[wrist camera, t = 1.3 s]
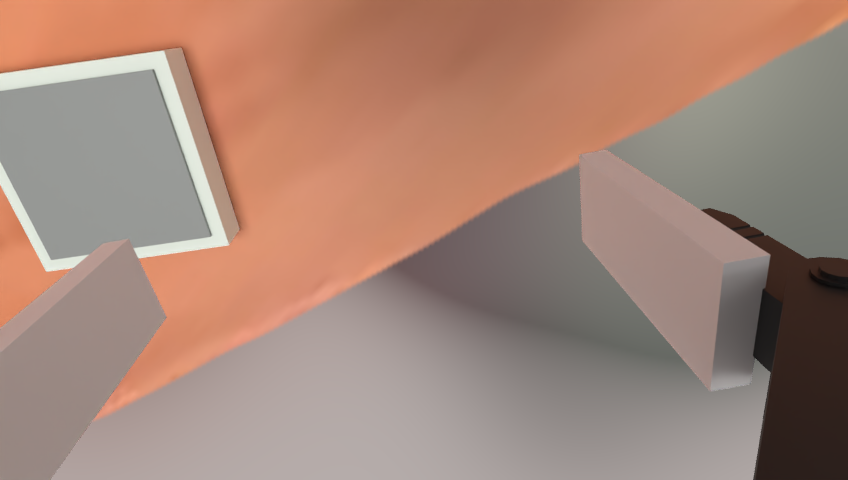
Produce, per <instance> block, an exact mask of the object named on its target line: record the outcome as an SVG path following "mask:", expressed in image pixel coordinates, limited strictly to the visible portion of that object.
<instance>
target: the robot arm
mask: <svg viewBox="0 0 848 480" xmlns="http://www.w3.org/2000/svg"><path fill="white" fill-rule="evenodd" d="M579 163H580V189H581V190H580V191H581V219H582V241H583V242H584V243H585V244H586V245H587V247H588V248H589V249H590V250H591V251H592V253H593V254H594V255H595V256H596V257H597V258H598V259H599V261H600V262H601V263H602V264H603V265H604V267H605V268H606V269H607V270H608V271H609V273H610V274H611V275H612V276H613V277H614V279H615V280H616V281H617V282H618V283H619V284H620V285H621V287H622V288H623V289H624V290H625V292H626V293H627V294H628V295H629V296H630V297H631V299H632V300H633V301H634V302H635V303H636V304H637V306H638V307H639V308H640V309H641V310H642V312H643V313H644V314H645V315H646V316H647V317H648V319H649V320H650V321H651V322H652V323H653V325H654V326H655V327H656V328H657V329H658V330H659V332H660V333H661V334H662V335H663V336H664V338H665V339H666V340H667V341H668V342H669V343H670V345H671V346H672V347H673V348H674V349H675V350H676V352H677V353H678V354H679V355H680V356H681V358H682V359H683V360H684V361H685V362H686V364H687V365H688V366H689V367H690V368H691V369H692V371H693V372H694V373H695V374H696V375H697V377H698V378H699V379H700V380H701V381H702V382H703V384H704V385H705V386H706V387H707V388H708V390H709V391H715V390H721V389H726V388H732V387H737V386H743V385H748V384H751V379H752V372H753V366H754V360H755V358H756V359H757V360H758V361H759V362H760V363H761V364H762V365H763V366H764V367H765V368H766V369H767V370H768V371H770V372H771V375H770V381H769V386H768V392H767V398H766V404H765V410H764V416H763V423H762V429H761V436H760V442H759V448H758V454H757V460H756V467H755V473H754V479H753V480H848V260H846V259H841V258H827V257H826V258H825V257H818V258H809V259H807V258H805V257H803V256H801V255H800V254H798V253H796V252H795V251H793V250H791V249H790V248H788V247H786V246H785V245H783V244H781V243H780V242H778V241H776V240H774V239H773V238H771V237H769V236H768V235H767V236H764V233H762V232H761V231H759V230H758V229H756V228H754V227H750V225H749V224H747V223H746V222H744V221H742V220H741V219H739V218H737V217H736V216H734V215H731V214H728V213H725V212H721V211H718V210H714V209H711V208H708V209H703V210H699V209H698V208H696V207H695V206H693V205H692V204H690V203H689V202H687V201H686V200H684V199H682V198H681V197H679V196H678V195H676V194H674V193H673V192H671V191H670V190H668V189H667V188H665V187H664V186H662V185H660V184H659V183H657V182H656V181H654V180H653V179H651V178H649V177H648V176H646V175H645V174H643V173H642V172H640V171H638V170H637V169H635V168H634V167H632V166H631V165H629V164H627V163H626V162H624V161H623V160H621V159H620V158H618V157H617V156H615V155H613V154H612V153H610V152H609V151H607V150H601V151H596V152H590V153H585V154H579ZM165 319H166V315H165V313H164V311H163V309H162V307H161V305H160V302H159V300H158V298H157V296H156V294H155V292H154V290H153V288H152V286H151V284H150V282H149V280H148V277H147V275H146V273H145V271H144V269H143V267H142V265H141V263H140V261H139V259H138V257H137V255H136V253H135V250H134V248H133V246H132V244H131V242H130V240H129V239H124V240H119V241H114V242H108V243H103V244H102V245H100V246H99V247H98V248H97V249H96V250H94V251H93V252H92V253H91V254H90V255H88V256H87V257H86V258H85V259H83V260H82V261H81V262H80V263H79V264H77V265H76V266H75V267H74V268H73V269H71V270H70V271H69V272H68V273H66V274H65V275H64V276H63V277H62V278H60V279H59V280H58V281H57V282H56V283H54V284H53V285H52V286H51V287H49V288H48V289H47V290H46V291H45V292H43V293H42V294H41V295H40V296H39V297H37V298H36V299H35V300H34V301H32V302H31V303H30V304H29V305H28V306H26V307H25V308H24V309H23V310H22V311H20V312H19V313H18V314H17V315H15V316H14V317H13V318H12V319H11V320H9V321H8V322H7V323H6V324H5V325H3V326H2V327H1V328H0V480H51V478H52V477H53V475H54V474H55V472H56V471H57V470H58V468H59V467H60V466H61V464H62V463H63V461H64V460H65V459H66V457H67V456H68V454H69V453H70V451H71V450H72V449H73V447H74V446H75V444H76V443H77V442H78V440H79V439H80V438H81V436H82V435H83V433H84V432H85V431H86V429H87V428H88V426H89V425H90V424H91V422H92V421H93V419H94V418H95V417H96V415H97V414H98V412H99V411H100V410H101V408H102V407H103V406H104V404H105V403H106V401H107V400H108V399H109V397H110V396H111V394H112V393H113V392H114V390H115V389H116V387H117V386H118V385H119V383H120V382H121V380H122V379H123V378H124V376H125V375H126V373H127V372H128V371H129V369H130V368H131V366H132V365H133V364H134V362H135V361H136V359H137V358H138V357H139V355H140V354H141V352H142V351H143V350H144V348H145V347H146V345H147V344H148V343H149V341H150V340H151V338H152V337H153V336H154V334H155V333H156V331H157V330H158V329H159V327H160V326H161V324H162V323H163V322H164V320H165Z"/></svg>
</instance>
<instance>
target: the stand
mask: <svg viewBox="0 0 848 480" xmlns="http://www.w3.org/2000/svg"><path fill="white" fill-rule="evenodd" d="M0 185H1V187H2V189H3V191H4V193H5V194H6V196H7V198H8V200H9V202H10V204H11V206H12V208H13V210H14V211H15V213H16V215H17V217H18V219H19V221H20V223H21V225H22V227H23V228H24V230H25V232H26V234H27V236H28V238H29V240H30V242H31V244H32V245H33V247H34V249H35V251H36V253H37V255H38V257H39V259H40V261H41V262H42V264H43V266H44V268H45V270H46V272H48V271H55V270H62V269H69V268H74V267H75V266H76V265H77V264H79V263H80V262H81V261H82V260H83V259H85V258H86V257H87V256H88V255H90V254H91V253H92V252H93V251H94V250H96V249H97V248H98V247H99V246H100V245H102V244H103V243H108V242H114V241H119V240H124V239H129V240H130V242H131V244H132V246H133V248H134V250H135V253H136V255H137V257H138V258H145V257H151V256H158V255H165V254H172V253H179V252H186V251H193V250H200V249H206V248H213V247H220V246H227V245H230V243H231V242H232V240H233V239H234V237H235V236H236V234H237V233H238V231H239V230H240V229H239V225H238V222H237V219H236V216H235V213H234V210H233V207H232V203H231V200H230V197H229V194H228V191H227V188H226V185H225V182H224V178H223V175H222V172H221V169H220V166H219V163H218V160H217V157H216V153H215V150H214V147H213V144H212V141H211V138H210V135H209V132H208V128H207V125H206V122H205V119H204V116H203V113H202V110H201V107H200V103H199V100H198V97H197V94H196V91H195V88H194V85H193V81H192V78H191V75H190V72H189V69H188V66H187V63H186V60H185V56H184V53H183V50H182V47H180V48H173V49H166V50H159V51H152V52H145V53H138V54H131V55H124V56H117V57H110V58H103V59H96V60H89V61H82V62H75V63H68V64H61V65H54V66H47V67H40V68H33V69H26V70H19V71H12V72H5V73H0Z"/></svg>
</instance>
